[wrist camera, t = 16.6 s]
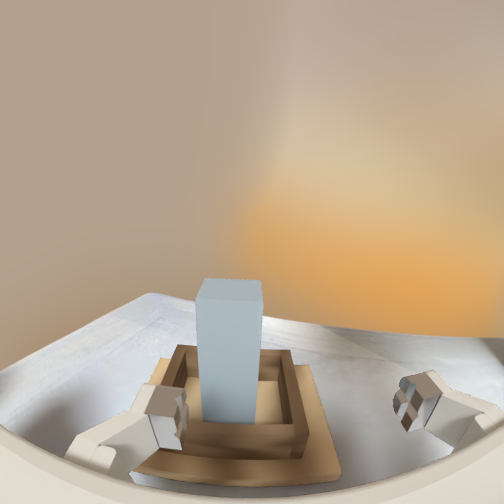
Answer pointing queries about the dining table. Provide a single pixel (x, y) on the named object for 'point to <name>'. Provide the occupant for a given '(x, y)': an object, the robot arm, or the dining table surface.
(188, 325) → the dining table surface
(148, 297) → the dining table surface
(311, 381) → the caddy
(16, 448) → the robot arm
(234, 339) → the grey block
